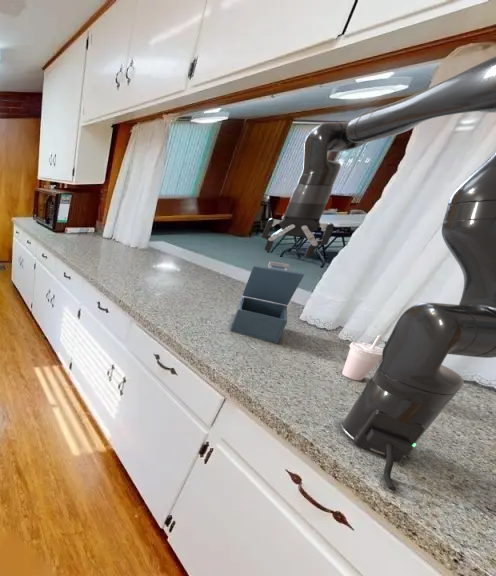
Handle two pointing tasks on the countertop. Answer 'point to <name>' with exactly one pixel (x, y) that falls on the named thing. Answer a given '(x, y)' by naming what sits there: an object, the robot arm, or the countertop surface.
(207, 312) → the countertop surface
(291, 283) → the lid
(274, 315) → the compartment
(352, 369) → the smoothie
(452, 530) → the countertop surface
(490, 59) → the robot arm
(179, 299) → the countertop surface
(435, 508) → the countertop surface
